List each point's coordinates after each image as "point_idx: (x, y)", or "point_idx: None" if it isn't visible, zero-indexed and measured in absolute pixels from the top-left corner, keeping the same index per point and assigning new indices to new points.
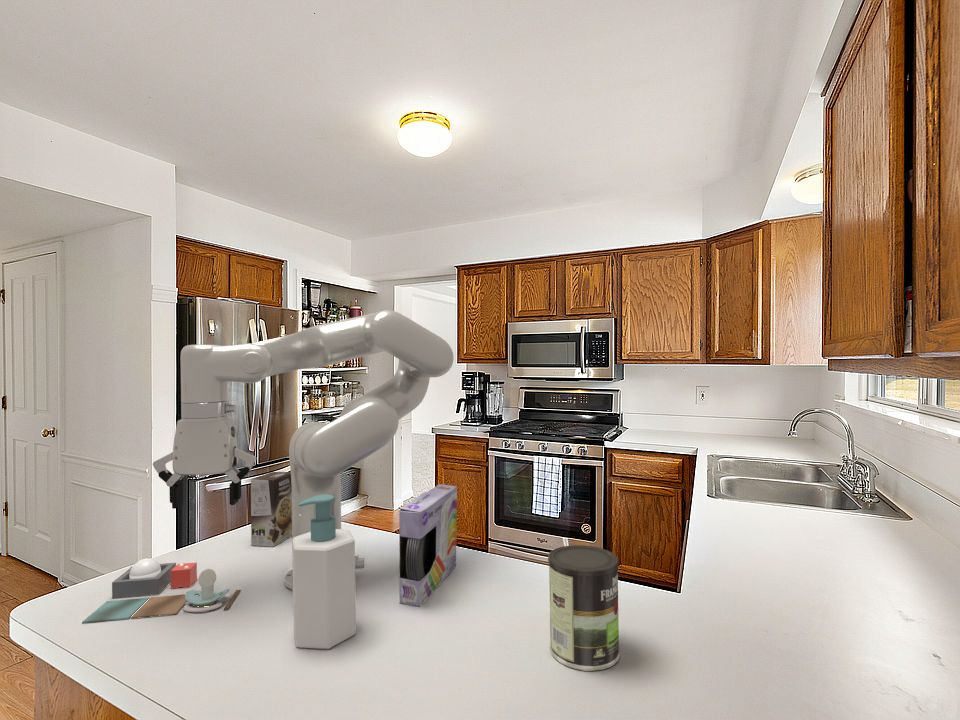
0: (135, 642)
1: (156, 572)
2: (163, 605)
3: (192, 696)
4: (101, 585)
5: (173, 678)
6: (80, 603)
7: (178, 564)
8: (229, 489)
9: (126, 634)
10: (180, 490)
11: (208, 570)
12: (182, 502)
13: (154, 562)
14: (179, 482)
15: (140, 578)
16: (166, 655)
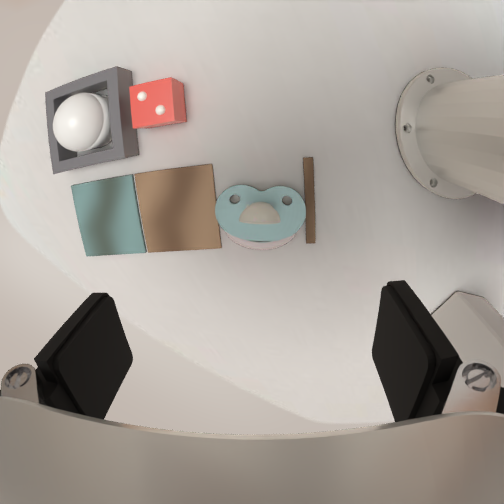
0: (205, 322)
1: (103, 127)
2: (178, 213)
3: (328, 411)
4: (29, 117)
5: (298, 392)
6: (40, 185)
7: (132, 90)
8: (392, 411)
9: (175, 298)
10: (87, 371)
11: (261, 223)
12: (111, 306)
13: (85, 119)
14: (59, 400)
15: (88, 155)
16: (269, 356)
